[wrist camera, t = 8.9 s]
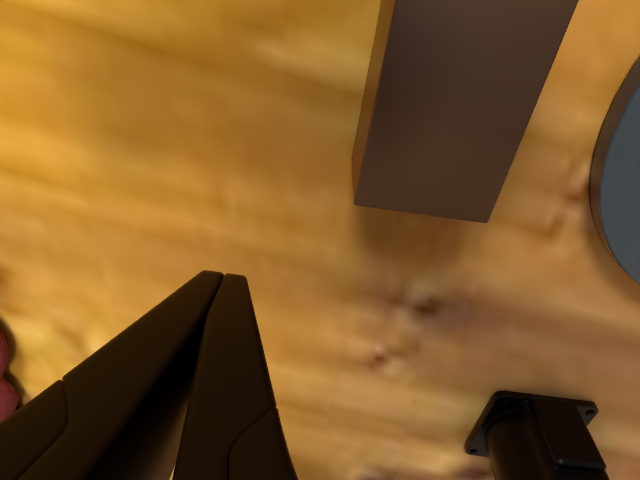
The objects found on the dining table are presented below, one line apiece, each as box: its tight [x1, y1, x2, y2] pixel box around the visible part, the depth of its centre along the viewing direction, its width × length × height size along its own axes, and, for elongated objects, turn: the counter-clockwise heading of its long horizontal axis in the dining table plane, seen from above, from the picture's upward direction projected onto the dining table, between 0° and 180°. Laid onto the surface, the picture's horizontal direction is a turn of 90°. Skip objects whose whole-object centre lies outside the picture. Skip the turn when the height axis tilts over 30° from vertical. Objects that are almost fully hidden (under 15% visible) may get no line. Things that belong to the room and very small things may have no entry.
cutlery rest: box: [352, 0, 579, 223], centre depth 15 cm, size 10×5×4 cm, turn 172°
